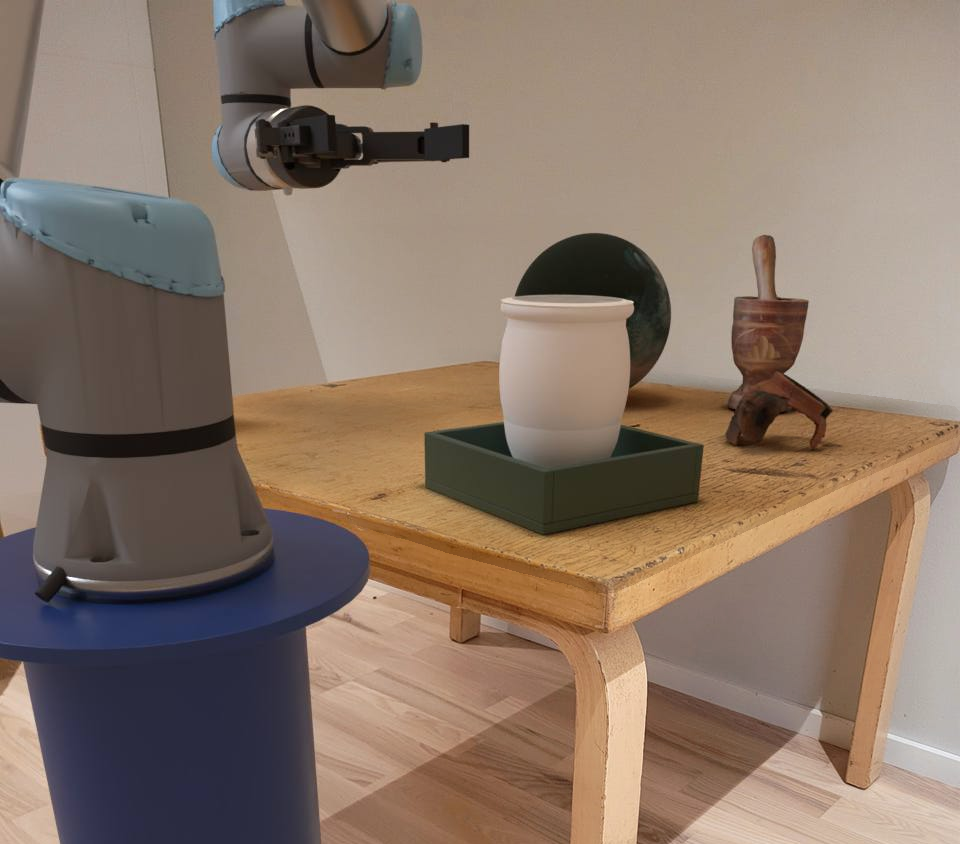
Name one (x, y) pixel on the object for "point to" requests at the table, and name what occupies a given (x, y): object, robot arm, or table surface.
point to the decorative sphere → (608, 288)
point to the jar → (564, 376)
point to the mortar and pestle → (765, 326)
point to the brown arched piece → (776, 409)
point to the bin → (562, 478)
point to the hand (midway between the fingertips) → (402, 137)
